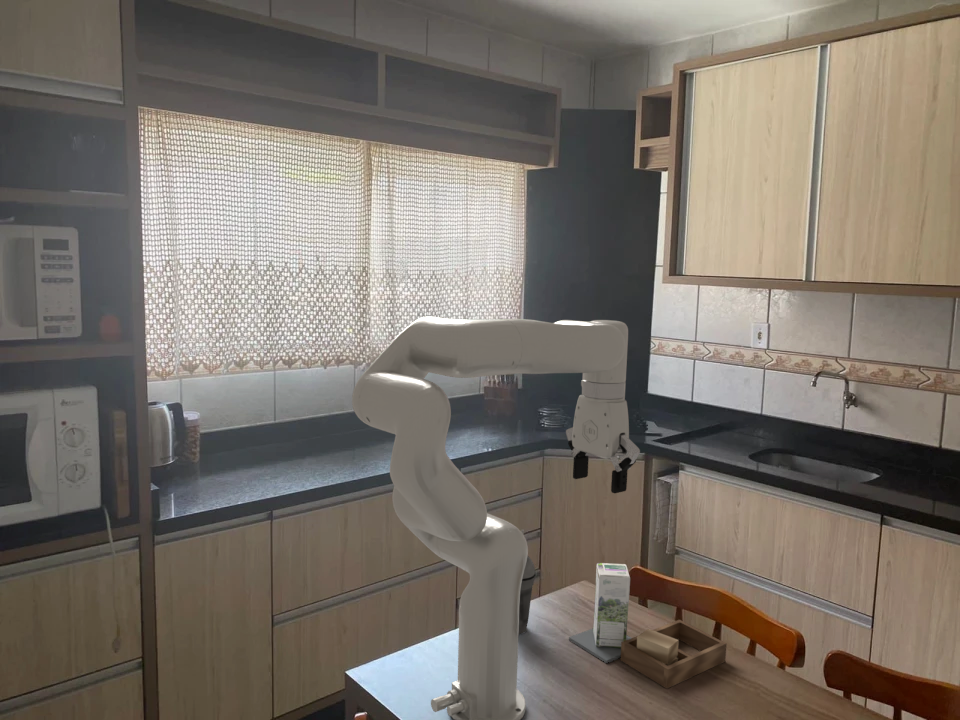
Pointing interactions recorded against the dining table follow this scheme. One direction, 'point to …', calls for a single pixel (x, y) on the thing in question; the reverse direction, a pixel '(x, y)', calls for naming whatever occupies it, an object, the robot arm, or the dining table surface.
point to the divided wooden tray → (686, 665)
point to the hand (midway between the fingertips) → (598, 484)
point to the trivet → (588, 644)
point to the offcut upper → (658, 646)
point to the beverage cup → (526, 594)
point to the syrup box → (611, 604)
